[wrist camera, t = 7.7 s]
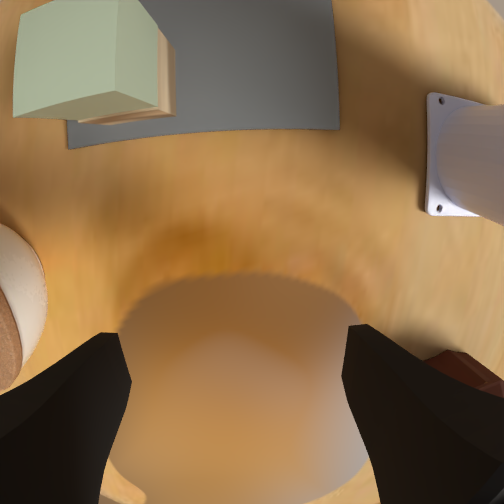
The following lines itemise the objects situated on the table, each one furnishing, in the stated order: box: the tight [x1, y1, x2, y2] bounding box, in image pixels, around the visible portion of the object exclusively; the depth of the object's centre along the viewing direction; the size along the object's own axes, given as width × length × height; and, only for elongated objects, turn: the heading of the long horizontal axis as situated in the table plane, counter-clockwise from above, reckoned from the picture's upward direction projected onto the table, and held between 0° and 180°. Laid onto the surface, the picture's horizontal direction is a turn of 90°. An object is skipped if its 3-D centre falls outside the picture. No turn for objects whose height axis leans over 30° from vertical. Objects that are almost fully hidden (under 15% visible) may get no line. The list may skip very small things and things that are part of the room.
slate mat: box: [67, 0, 340, 150], centre depth 15 cm, size 16×12×1 cm
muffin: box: [423, 350, 504, 398], centre depth 19 cm, size 12×11×10 cm
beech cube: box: [78, 28, 176, 125], centre depth 14 cm, size 4×4×4 cm
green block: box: [13, 0, 158, 120], centre depth 9 cm, size 4×4×5 cm
